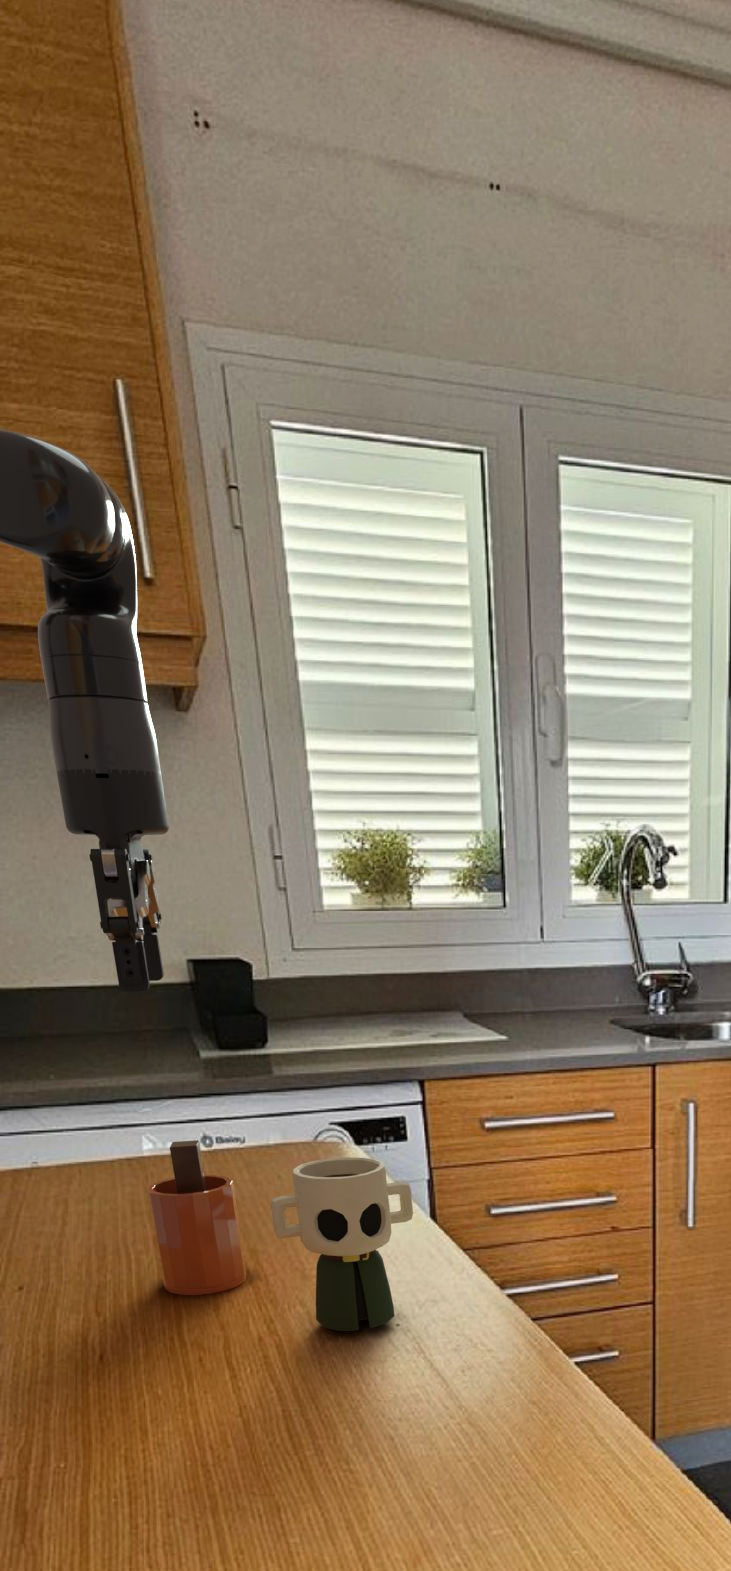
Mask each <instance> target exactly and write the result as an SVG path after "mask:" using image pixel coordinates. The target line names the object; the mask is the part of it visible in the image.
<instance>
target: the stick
mask: <svg viewBox="0 0 731 1571" xmlns="http://www.w3.org/2000/svg"><path fill="white" fill-rule="evenodd" d="M169 1152H170V1158H171V1165H172V1171H173V1176H174V1177H175V1182H176V1188H177V1194H185V1193H196V1192H203V1191H207V1187H206V1181H205V1175H206V1174H205V1169H204V1162H203V1156H202V1150H201V1143H200V1140H199V1139H196V1140H181V1141H172V1142H171V1144H170V1146H169Z"/></svg>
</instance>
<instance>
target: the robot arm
mask: <svg viewBox="0 0 731 1571" xmlns="http://www.w3.org/2000/svg"><path fill="white" fill-rule="evenodd" d="M109 485H110V484H108V482H106V481H105V480H103V479H102V478H101V477H100V475H99V474H98V473H97V472H96V471H95V470H94V469H93V468H92V467H90V465H89V464H88V463H86V462H85V461H84V460H83V459H81V458H80V457H79V456H78V455H76V454H75V453H73V452H71V451H69V450H67V449H65V448H63V447H61V446H58V445H57V444H54V443H51V442H48V441H46V440H42V439H40V438H37V437H33V436H30V435H27V434H23V433H20V432H19V433H18V432H15V431H10V430H6V429H1V428H0V543H1V544H5V545H7V546H11V547H13V548H15V549H19V550H22V551H24V552H26V553H29V554H31V555H33V556H37V557H38V558H39V560H40V565H41V570H42V579H43V587H44V588H43V589H44V597H45V605H46V612H45V613H44V614H43V615H42V616H41V617H40V619H39V622H38V625H37V640H38V642H37V643H38V651H39V656H40V661H41V668H42V673H43V679H44V684H45V686H44V687H45V691H46V696H47V699H48V701H47V703H48V714H49V715H48V716H49V734H50V741H51V746H52V753H53V759H54V766H55V770H56V771H55V772H56V776H57V781H58V782H57V783H58V789H59V794H60V800H61V805H62V811H63V818H64V822H65V827H66V829H67V831H68V832H69V833H71V834H72V835H80V836H82V835H85V836H96V837H97V838H98V848H90V852H89V860H90V862H91V867H92V872H93V873H92V874H93V879H94V880H93V881H94V885H95V886H94V887H95V891H96V899H97V904H98V911H99V918H100V922H99V926H100V929H101V930H102V932H103V934H105V935H106V936H107V938H108V940H109V941H110V942H111V941H112V942H111V945H112V951H113V957H114V958H113V959H114V964H115V970H116V976H117V981H118V987H119V989H120V990H121V991H123V992H146V991H147V990H148V989H150V986H151V982H158V981H161V980H162V979H164V975H165V973H164V967H163V960H162V953H161V946H160V939H159V933H160V929H161V925H162V924H161V923H162V920H163V917H162V913H161V912H160V900H159V895H158V891H157V887H156V870H155V866H154V862H153V854H152V853H151V851H150V849H147V848H146V849H143V845H142V842H141V839H142V837H143V836H158V835H165V834H167V833H168V831H169V829H170V824H169V817H168V812H167V811H168V810H167V805H166V796H165V790H164V783H163V776H162V769H161V762H160V755H159V749H158V741H157V737H156V731H155V728H154V724H153V720H152V717H151V713H150V708H149V704H148V695H147V694H148V693H147V688H146V681H145V680H146V679H145V674H144V667H143V662H142V661H143V660H142V656H141V650H140V646H139V640H138V635H137V634H138V632H137V630H138V629H137V624H138V591H137V590H138V586H137V584H138V583H137V582H138V581H137V580H138V579H137V560H136V553H135V552H136V550H135V545H134V544H135V543H134V538H133V534H132V528H131V524H130V520H129V517H128V513H127V512H126V509H125V508H124V505H123V503H122V500H121V499H120V497H119V496H118V495H117V493H116V492H115V491H114V490H113V488H112V487H111V486H109Z"/></svg>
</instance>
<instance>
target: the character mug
mask: <svg viewBox="0 0 731 1571" xmlns="http://www.w3.org/2000/svg"><path fill="white" fill-rule="evenodd" d="M292 1178H293V1179H292V1180H293V1187H294V1194H290V1195H289V1194H288V1195H279V1196H276V1197H274V1198H272V1199H271V1204H270V1210H271V1216H272V1224H273V1231H274V1233H275V1236H276V1238H280V1239H289V1238H296V1237H300V1242H302V1244H303V1246H304V1248H305V1249H306V1250H308V1251H309V1252H311V1253H314V1254H319V1257H318V1260H317V1262H316V1272H315V1273H316V1274H315V1319H316V1321H317V1322H318V1323H319V1324H320V1325H321V1327H323V1328H325V1329H328V1330H333V1331H337V1332H340V1331H343V1332H344V1331H346V1332H348V1331H351V1332H353V1331H355V1332H356V1331H359V1330H360V1329H359V1326H360V1325H359V1321H363V1320H368V1324H369V1328H370V1329H371V1328H376V1327H379V1326H382V1325H385V1324H387V1323H389V1322H390V1321H391V1320H392V1319H393V1318H394V1317H395V1307H394V1302H393V1296H392V1293H391V1287H390V1283H389V1279H388V1276H387V1275H388V1274H387V1271H386V1267H385V1263H384V1258H383V1256H382V1255H381V1253H380V1252H379V1251H378V1249H380V1248H383V1247H384V1246H385V1245H387V1244H388V1243H390V1239H391V1236H392V1225H393V1224H400V1223H407V1222H409V1221H411V1220H413V1216H414V1209H413V1198H412V1197H413V1196H412V1188H411V1186H410V1183H409V1182H407V1181H397V1182H388V1180H387V1171H386V1166H385V1162H383V1161H381V1160H379V1159H376V1158H369V1157H358V1156H357V1157H355V1156H353V1157H351V1156H345V1157H329V1158H324V1159H318V1160H317V1159H316V1160H313V1161H309V1162H305V1163H302V1164H299V1165H298V1166H296V1167H294V1168H293V1171H292ZM387 1182H388V1183H387ZM395 1195H398V1196H399V1205H400V1206H399V1207H400V1210H397V1211H391V1209H390V1199H389V1196H395ZM290 1208H291V1209H292V1208H296V1212H297V1220H298V1223H297V1224H296V1223H295V1224H290V1225H288V1224H287V1218H286V1209H290Z"/></svg>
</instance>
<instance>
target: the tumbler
mask: <svg viewBox="0 0 731 1571" xmlns="http://www.w3.org/2000/svg"><path fill="white" fill-rule="evenodd" d="M205 1181H206V1187H207V1191H203V1192H196V1193H185V1194H177V1188H176V1182H175V1176H174V1177H169V1178H166V1179H162V1180H161V1179H160V1180H158V1181H156V1182H153V1183H151V1184H149V1185H148V1186H147V1188H146V1194H147V1199H148V1205H149V1211H150V1218H151V1223H152V1229H153V1234H154V1239H155V1240H154V1241H155V1245H156V1252H157V1257H158V1262H159V1268H160V1274H161V1279H162V1282H163V1286H164V1289H165V1291H167V1292H169V1293H171V1294H175V1295H181V1296H201V1295H211V1294H216V1293H221V1292H225V1291H228V1290H231V1289H234V1288H236V1287H239V1286H240V1285H242V1284H244V1283H245V1281H246V1280H247V1266H246V1260H245V1253H244V1247H243V1239H242V1232H241V1226H240V1218H239V1213H238V1206H237V1199H236V1192H235V1186H234V1180H233V1179H232V1178H230V1177H229V1176H224V1175H219V1174H205Z"/></svg>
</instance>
